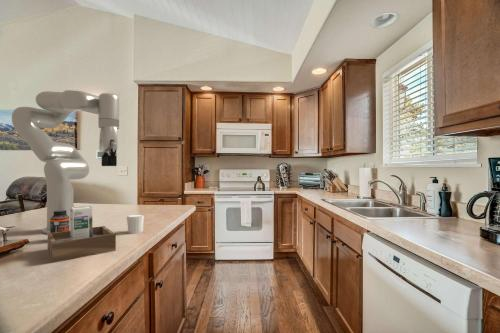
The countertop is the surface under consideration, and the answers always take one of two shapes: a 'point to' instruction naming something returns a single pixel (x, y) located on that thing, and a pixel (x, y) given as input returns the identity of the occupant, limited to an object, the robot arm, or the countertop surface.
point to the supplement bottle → (59, 221)
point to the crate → (80, 244)
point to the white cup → (135, 223)
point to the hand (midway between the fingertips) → (108, 166)
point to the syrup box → (81, 222)
